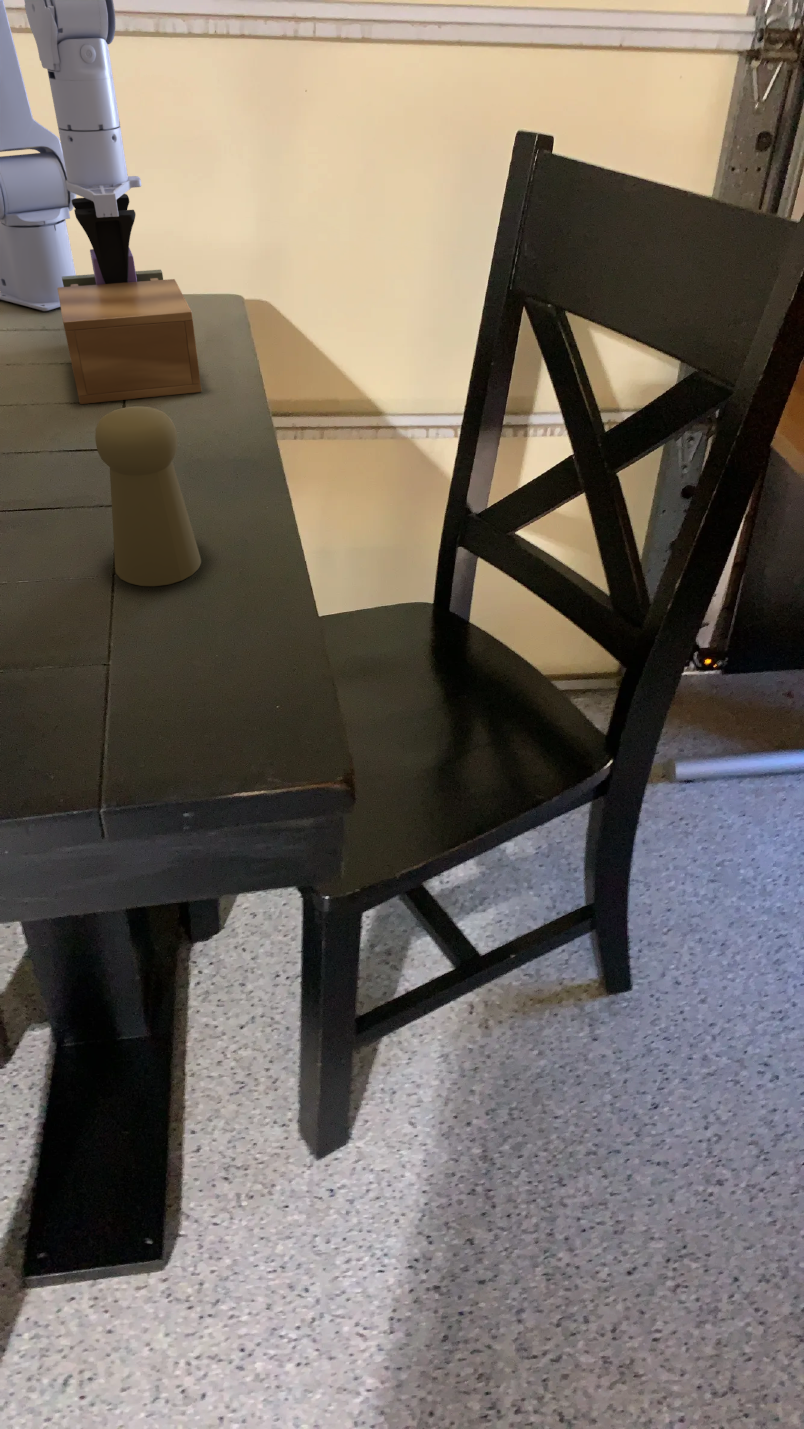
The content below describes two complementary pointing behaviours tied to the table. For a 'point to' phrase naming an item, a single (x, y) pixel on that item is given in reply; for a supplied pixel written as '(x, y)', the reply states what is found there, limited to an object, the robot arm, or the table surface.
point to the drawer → (90, 280)
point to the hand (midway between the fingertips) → (115, 279)
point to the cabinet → (130, 340)
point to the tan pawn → (146, 498)
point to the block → (97, 271)
